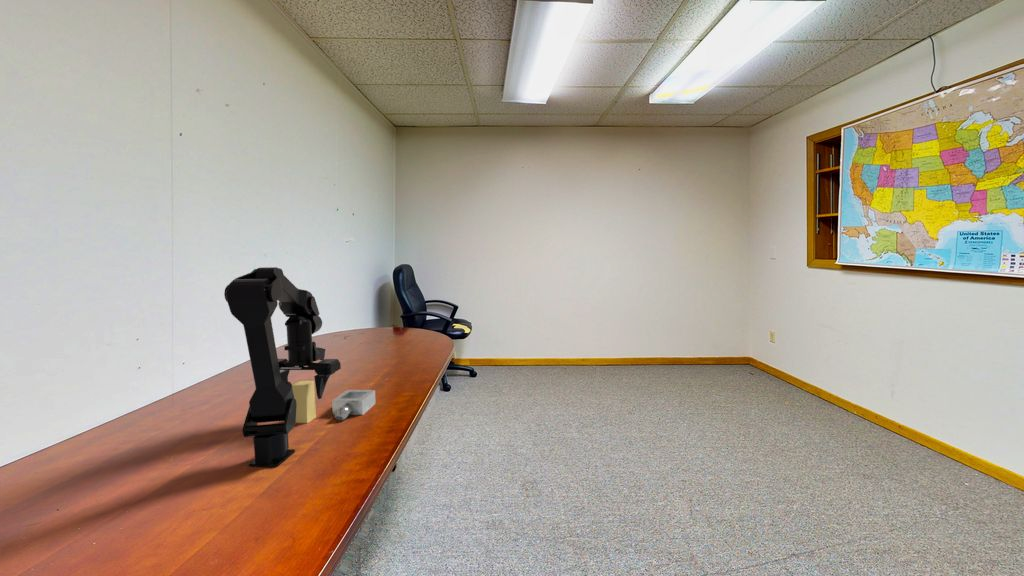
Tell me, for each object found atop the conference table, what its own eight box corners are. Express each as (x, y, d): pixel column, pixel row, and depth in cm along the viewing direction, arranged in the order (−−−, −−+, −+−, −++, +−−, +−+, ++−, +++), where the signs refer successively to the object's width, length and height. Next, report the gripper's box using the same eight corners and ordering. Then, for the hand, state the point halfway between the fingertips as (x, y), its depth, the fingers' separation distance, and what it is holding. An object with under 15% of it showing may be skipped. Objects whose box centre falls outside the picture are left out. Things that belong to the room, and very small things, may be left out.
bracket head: (356, 421, 105) (355, 406, 105) (324, 420, 106) (324, 405, 106) (381, 398, 122) (380, 385, 122) (353, 398, 122) (353, 385, 122)
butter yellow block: (307, 423, 105) (305, 385, 104) (292, 422, 105) (290, 385, 104) (316, 416, 109) (313, 380, 108) (301, 416, 109) (299, 380, 108)
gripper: (349, 334, 112) (351, 388, 113) (285, 334, 114) (288, 388, 115) (328, 342, 101) (331, 403, 102) (257, 342, 102) (261, 402, 104)
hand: (303, 398), depth 106 cm, fingers open, 9 cm apart
